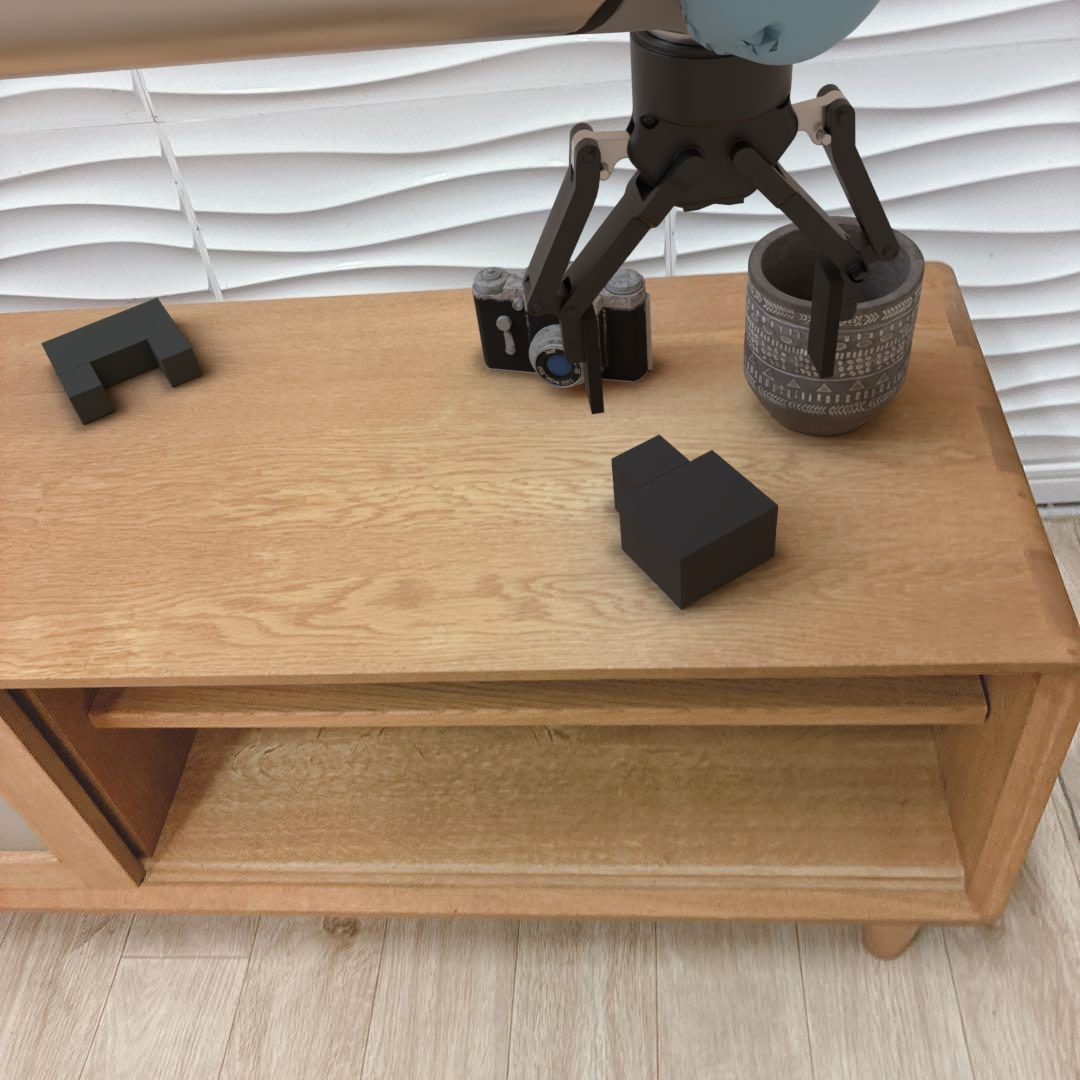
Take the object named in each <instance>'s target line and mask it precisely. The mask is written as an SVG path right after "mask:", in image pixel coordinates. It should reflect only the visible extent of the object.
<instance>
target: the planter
mask: <svg viewBox="0 0 1080 1080" xmlns="http://www.w3.org/2000/svg"><path fill="white" fill-rule="evenodd" d="M829 216H830V217H831V218H832V219H833V220H834V221H835V222H836V223H837V224H838V225H839V227H840V228H841V229H842V230H843V231H844V232H845V233H846V234H847V235H848V236H849V237H850V236H852V235H854V234H857V233H859V232H861V231H862V230H861V228H860V226H859V223H858V221H857V219H856V217H855V216H846V215H845V216H843V215H829ZM891 228H892V230H893V232H894V235H895V237H896V239H897V241H898V244H899V246H900V251H899V254H898V255H897V257H896V258H894V259H893V260H891V261H888V262H883V261H881V260H878V261H875V262H873V263H871V264H869V265H868V268H869V269H870V276H869V278H868V279H867V280H866V281H865V282H864V283H862V284H860V285H859V293H858V301H857V308H856V313H855V315H854V316H853V318H852V320H847V321H841V322H839V331H838V339H837V348H836V356H835V365H834V373H833V377H828V378H822V379H820V377H819V375H818V373H817V371H816V369H815V367H814V364H813V362H812V360H811V358H810V356H809V354H808V352H807V348H808V337H809V327H810V316H811V306H812V295H813V284H814V274H815V263H816V257H823V256H826V255H825V254H824V253H823V252H822V251H821V250H820V249H819V248H818V247H817V246H816V245H815V244H814V243H813V242H812V241H811V240H810V239H809V238H808V237H807V236H806V235H805V234H804V233H803V232H802V231H801V230H800V229H799V228H798V227H797V226H796V225H795V224H794V223H793V222H791V223H788V224H785V225H782V226H780V227H778V228H775V229H773V230H772V231H770V232H768V233H766V234H765V235H764V236H762V237H761V238H760V239H759V240H758V241H757V242H756V243H755V244H754V246H753V247H752V249H751V251H750V253H749V256H748V259H747V260H748V261H747V279H746V281H747V282H746V294H745V319H744V320H745V321H744V323H745V324H744V336H743V373H744V377H745V380H746V382H747V384H748V386H749V387H750V389H751V390H752V392H753V394H754V395H755V396H756V398H757V399H758V401H759V402H760V403H761V404H762V406H763V407H764V408H765V410H766V411H767V412H768V413H769V414H770V415H771V416H772V418H773V419H774V420H775V421H776V422H778V423H779V425H781V426H783V427H785V428H787V429H788V430H790V431H792V432H796V433H799V434H803V435H807V436H815V437H832V436H839V435H843V434H846V433H850V432H853V431H855V430H858V428H860V427H862V426H863V425H864V424H866V423H867V422H868V421H870V420H871V419H872V418H874V416H876V415H877V414H878V413H879V412H881V410H883V409H884V408H885V407H886V406H887V405H888V404H889V403H890V402H891V401H892V400H893V399H894V398H895V397H896V396H897V394H898V393H899V392H900V391H901V389H902V388H903V386H904V383H905V381H906V379H907V374H908V370H909V365H910V360H911V352H912V345H913V337H914V332H915V329H916V324H917V322H916V321H917V318H918V312H919V306H920V302H921V294H922V288H923V282H924V275H925V270H926V269H925V268H926V263H925V258H924V254H923V252H922V251H921V249H920V247H919V246H918V244H916V242H915V241H914V240H912V239H911V238H910V237H909V236H907V235H906V234H904V233H903V232H901V231H899V230H897V229H895V228H893V227H891Z"/></svg>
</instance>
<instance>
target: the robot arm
mask: <svg viewBox="0 0 1080 1080" xmlns="http://www.w3.org/2000/svg"><path fill="white" fill-rule="evenodd" d="M880 2H881V0H0V81H3V80H4V81H5V80H17V79H29V78H43V77H55V76H66V75H67V76H68V75H69V76H70V75H80V74H94V73H106V72H118V71H132V70H133V71H134V70H143V69H146V70H147V69H157V68H170V67H184V66H196V65H209V64H220V63H232V62H233V63H234V62H246V61H248V62H249V61H259V60H273V59H283V58H297V57H310V56H324V55H335V54H336V55H337V54H349V53H350V54H351V53H363V52H372V51H373V52H374V51H387V50H398V49H399V50H400V49H411V48H413V49H414V48H425V47H439V46H450V45H451V46H452V45H464V44H476V43H488V42H489V43H490V42H502V41H515V40H516V41H517V40H527V39H539V38H553V37H564V36H577V35H600V34H617V33H618V34H620V33H621V34H622V33H629V50H630V51H629V52H630V74H631V75H630V76H631V77H630V78H631V99H632V101H631V102H632V106H631V107H632V108H631V109H632V110H631V116H630V119H629V122H628V124H627V126H626V128H625V130H607V131H604V130H603V131H594V129H593V127H592V125H590V124H589V123H587V122H578V123H575V125H573V126H572V128H571V129H570V130H569V131H570V132H569V141H568V142H569V143H568V145H569V146H568V166H567V170H566V172H565V174H564V177H563V180H562V182H561V184H560V187H559V190H558V192H557V194H556V196H555V199H554V202H553V204H552V207H551V209H550V212H549V215H548V217H547V219H546V221H545V223H544V226H543V230H542V231H541V234H540V237H539V239H538V242H537V244H536V247H535V249H534V251H533V254H532V256H531V259H530V261H529V264H528V266H527V267H528V268H527V267H526V268H527V271H526V273H525V276H524V278H523V282H522V285H523V291H524V296H525V301H526V306H527V310H528V312H529V313H530V315H533V316H537V317H539V316H543V315H544V314H546V313H549V314H554V315H556V316H557V317H558V318H559V321H560V330H561V339H562V346H563V350H564V355H565V358H566V360H567V361H568V363H569V364H575V363H582V362H583V370H584V381H585V382H584V388H585V392H586V396H587V400H588V406H589V409H590V414H591V415H597V414H604V413H605V404H604V403H605V401H604V390H603V380H602V375H601V362H600V349H599V336H598V323H597V317H596V314H595V310H594V306H593V303H592V302H593V301H594V300H595V298H596V297H597V296H598V295H599V293H600V292H601V291H602V290H603V288H604V287H605V286H606V284H607V283H608V282H609V281H610V279H611V278H612V277H613V276H614V274H615V273H616V272H617V271H618V269H621V267H622V266H623V264H624V263H625V262H626V261H627V260H628V259H629V257H630V256H631V254H632V253H633V251H634V250H635V249H636V248H637V246H638V245H639V244H640V242H642V240H643V239H644V238H645V236H647V234H648V233H649V231H650V230H652V229H656V228H657V227H659V226H660V225H661V224H662V222H664V220H665V219H666V217H667V216H668V215H669V213H670V212H671V211H672V209H674V207H675V208H679V209H682V211H683V213H689V212H695V211H700V210H703V209H705V208H708V207H710V206H713V205H720V206H721V205H722V206H734V205H741V204H745V199H746V198H748V197H750V196H751V195H753V194H754V193H755V192H756V191H759V192H760V194H762V196H764V198H766V199H767V200H768V201H769V203H770V204H772V206H773V207H775V208H776V209H778V210H780V211H781V212H782V213H783V214H784V215H785V216H786V217H787V219H789V221H791V223H794V224H795V225H796V226H797V227H798V228H799V229H800V230H801V231H802V232H803V233H804V234H805V235H806V236H807V237H808V238H809V239H810V240H811V241H812V242H813V243H814V244H815V245H816V246H817V247H818V248H819V249H820V250H821V251H822V252H823V253H824V254H825V255H826V256H823V257H816V263H815V274H814V284H813V295H812V306H811V316H810V327H809V337H808V348H807V352H808V354H809V356H810V358H811V360H812V362H813V364H814V367H815V369H816V371H817V373H818V375H819V377H820V379H822V378H828V377H833V373H834V365H835V356H836V348H837V339H838V331H839V322H841V321H847V320H852V318H853V316H854V315H855V313H856V308H857V301H858V293H859V285H860V284H862V283H864V282H865V281H866V280H867V279H868V278H869V276H870V269H869V268H868V265H869V264H871V263H873V262H875V261H878V260H881V261H883V262H888V261H891V260H893V259H894V258H896V257H897V255H898V254H899V251H900V246H899V244H898V241H897V239H896V237H895V235H894V232H893V230H892V228H893V227H892V226H891V224H890V220H889V219H888V217H887V214H886V212H885V210H884V207H883V205H882V202H881V200H880V198H879V196H878V194H877V191H876V189H875V187H874V185H873V182H872V180H871V178H870V175H869V174H868V171H867V168H866V166H865V163H864V161H863V160H862V157H861V155H860V153H859V151H858V148H857V146H856V144H857V143H856V142H857V141H856V140H857V139H856V112H855V108H854V107H853V105H852V104H851V102H850V101H849V100H848V98H847V97H846V96H845V94H844V93H843V92H842V91H841V89H840V88H839V86H838V85H837V84H834V83H826V84H825V85H823V86H822V87H821V88H820V89H818V91H817V93H816V97H814V98H810V99H807V100H802V101H799V102H796V103H792V101H791V93H792V82H793V66H794V65H795V64H800V63H803V62H806V61H810V60H812V59H815V58H816V57H819V56H821V55H822V54H824V53H826V52H828V51H829V50H831V49H832V48H834V47H835V46H836V45H838V44H839V43H841V42H842V41H843V40H845V39H846V38H847V37H848V36H849V35H851V34H852V33H853V32H854V31H856V29H858V27H859V26H860V25H861V24H862V23H863V22H864V21H865V20H866V19H867V18H868V17H869V16H870V14H871V13H872V12H873V10H874V9H875V8H876V7H877V6H878V4H879V3H880ZM798 132H805V133H806V134H807V136H808V138H809V139H810V141H811V142H812V143H813V144H814V145H816V146H822V148H823V150H824V152H825V154H826V157H827V158H828V161H829V164H830V166H831V167H832V169H833V172H834V174H835V176H836V178H837V180H838V182H839V185H840V187H841V190H842V191H843V193H844V196H845V198H846V199H847V202H848V204H849V206H850V208H851V211H852V212H853V214H854V217H855V218H856V219H857V221H858V223H859V226H860V228H861V230H862V231H861V232H859V233H857V234H854V235H852V236H850V237H849V236H848V235H847V234H846V233H845V232H844V231H843V230H842V229H841V228H840V227H839V225H838V224H837V223H836V222H835V221H834V220H833V219H832V218H831V217H830V216H831V215H829V213H827V212H826V210H824V209H823V207H821V205H820V204H818V203H817V201H815V199H814V198H813V197H812V196H811V195H810V194H809V193H808V192H807V191H806V190H805V189H804V188H803V187H802V186H801V185H800V184H799V183H798V182H797V180H796V179H794V178H793V176H791V175H790V173H789V172H788V171H787V170H786V169H785V168H784V167H783V165H782V164H781V163H780V162H779V161H780V159H781V158H782V156H783V155H784V154H785V153H786V152H787V150H788V149H789V148H790V146H791V144H792V143H793V142H794V140H795V138H796V137H797V134H798ZM623 159H628V160H629V162H630V163H631V164H632V166H633V167H634V168H635V169H636V171H635V172H634V174H633V175H632V176H631V177H630V179H629V180H628V182H627V184H626V185H625V190H624V193H623V195H622V197H621V198H620V199H619V200H618V202H617V203H616V205H615V206H614V207H613V209H612V210H611V211H610V213H609V214H608V215H607V216H606V218H605V219H604V220H603V221H602V223H601V224H600V225H599V227H598V228H597V230H596V231H595V232H594V234H592V236H591V237H590V239H589V240H588V241H587V243H586V244H585V246H584V247H582V250H581V251H580V252H579V253H578V255H577V256H576V257H575V259H574V260H573V261H574V262H573V263H572V264H571V266H570V267H569V268H568V269H567V271H566V268H567V266H568V264H569V261H571V259H572V256H573V254H574V253H575V250H576V247H577V245H578V243H579V240H580V238H581V236H582V234H583V231H584V229H585V226H586V224H587V222H588V220H589V217H590V215H591V212H592V210H593V208H594V205H595V203H596V200H597V197H598V193H599V189H600V181H603V182H605V181H607V180H608V179H610V176H611V175H612V174H613V172H614V168H615V166H616V165H617V163H619V162H620V161H622V160H623ZM565 271H566V272H565Z"/></svg>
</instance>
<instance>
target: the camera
mask: <svg viewBox="0 0 1080 1080" xmlns="http://www.w3.org/2000/svg"><path fill="white" fill-rule="evenodd" d="M573 262H574V260H570V261H569V264H568V266H567V268H566V271H567V269H568V268H569V267H570V266H571V264H572V263H573ZM527 268H528V266H526V268H524V270H523V271H522V272H519V273H511V272H508V271H507V270H506V269H505V268H503V267H500V266H487V267H485V268H482V269H480V270H478V271H477V272H476V273H475V274H474V276H473V282H472V284H471V291H472V298H473V302H474V308H475V315H476V320H477V326H478V327H477V328H478V333H479V338H480V344H481V350H482V356H483V361H484V364H485V367H486V368H487V369H488V370H492V371H501V372H502V371H504V372H512V373H513V372H514V373H522V374H523V373H524V374H534V375H537V376H538V377H539V378H540V379H541V380H542V381H543V382H544V383H546V384H548V385H550V386H551V387H554V388H559V389H565V388H566V389H567V388H571V387H575V386H578V385H581V384H585V381H584V370H583V362H582V363H575V364H569V363H568V361H567V360H566V358H565V355H564V350H563V346H562V339H561V330H560V321H559V318H558V317H557V316H556V315H554V314H549V313H546V314H544V315H543V316H539V317H537V316H533V315H530V313H529V312H528V310H527V306H526V301H525V296H524V291H523V285H522V282H523V278H524V276H525V273H526V271H527ZM566 271H565V272H566ZM592 303H593V306H594V310H595V314H596V317H597V323H598V336H599V349H600V362H601V375H602V381H610V382H611V381H613V382H624V383H637V382H639V381H641V380H642V379H643V378H645V377H646V376H647V375H648V373H649V371H652V370H653V345H652V344H653V343H652V318H651V317H652V315H651V313H652V312H651V311H652V310H651V293H649V292H647V287H646V279H645V278H644V276H643V274H641V273H640V272H639V271H637V270H635V269H633V268H632V269H631V268H619V269H618V271H617V272H616V273H615V274H614V276H613V277H612V278H611V279H610V281H609V282H608V283H607V284H606V286H605V287H604V288H603V290H602V291H601V292H600V293H599V295H598V296H597V297H596V298H595V300H594V301H593V302H592Z"/></svg>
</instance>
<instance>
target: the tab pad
mask: <svg viewBox="0 0 1080 1080" xmlns="http://www.w3.org/2000/svg"><path fill="white" fill-rule="evenodd" d="M610 461H611V463H610V464H611V474H612V488H613V490H612V491H613V501H614V502H613V503H614V510H615V511H617V512H618V517H619V529H620V531H619V532H620V545H621V550H622V551H623V552H624V553H625V554H626V555H627V556H628V557H629V558H630V559H631V560H632V562H634V563H635V564H636V565H637V567H639V568H640V569H641V570H642V571H643V573H644V574H646V575H647V576H648V577H649V579H650V580H651V581H652V582H653V583H654V584H655V585H656V586H657V587H658V588H659V589H660V590H661V591H662V592H663V593H664V594H665V595H666V596H667V597H668V598H669V599H670V600H671V601H672V603H674V604H675V605H676V606H677V607H678V608H679V609H680V610H684V609H685V608H687V607H689V606H691V605H692V604H694V603H696V602H698V601H699V600H702V598H705V597H706V596H708V595H710V594H712V593H714V592H715V591H717V590H719V589H720V588H722V587H723V586H725V585H727V584H729V583H730V582H732V581H734V580H736V579H737V578H739V577H741V576H742V575H744V574H746V573H749V571H751V570H753V569H755V568H756V567H759V566H760V565H762V564H763V563H766V562H767V561H769V560H771V559H772V558H774V557H775V551H776V540H777V528H778V516H779V504H778V503H777V502H775V501H774V500H773V499H772V498H770V497H769V496H768V495H767V494H766V493H765V492H763V491H762V490H761V489H760V488H759V487H757V486H756V485H755V484H754V483H753V482H751V481H750V480H749V479H748V478H746V477H745V476H744V475H743V474H742V473H741V472H740V471H738V470H737V468H735V467H733V466H732V464H730V463H729V462H727V461H726V459H724V458H723V457H722V456H720V455H719V454H718V453H717V452H715V450H713V449H711V450H709V451H707V452H705V453H703V454H701V455H699V456H697V457H696V458H693V459H692V460H689V458H687V457H686V456H685V455H684V454H683V453H682V452H681V451H680V450H678V449H677V448H675V446H674V445H672V444H671V443H670V442H669V441H668V440H667V439H665V438H664V437H663V436H662V435H661V434H657V435H655V436H653V437H651V438H649V439H647V440H645V441H643V442H641V443H639V444H637V445H636V446H633V447H632V448H629V449H628V450H625V451H624V452H622V453H620V454H618V455H615V456H614V457H612V458H611V460H610Z"/></svg>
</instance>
